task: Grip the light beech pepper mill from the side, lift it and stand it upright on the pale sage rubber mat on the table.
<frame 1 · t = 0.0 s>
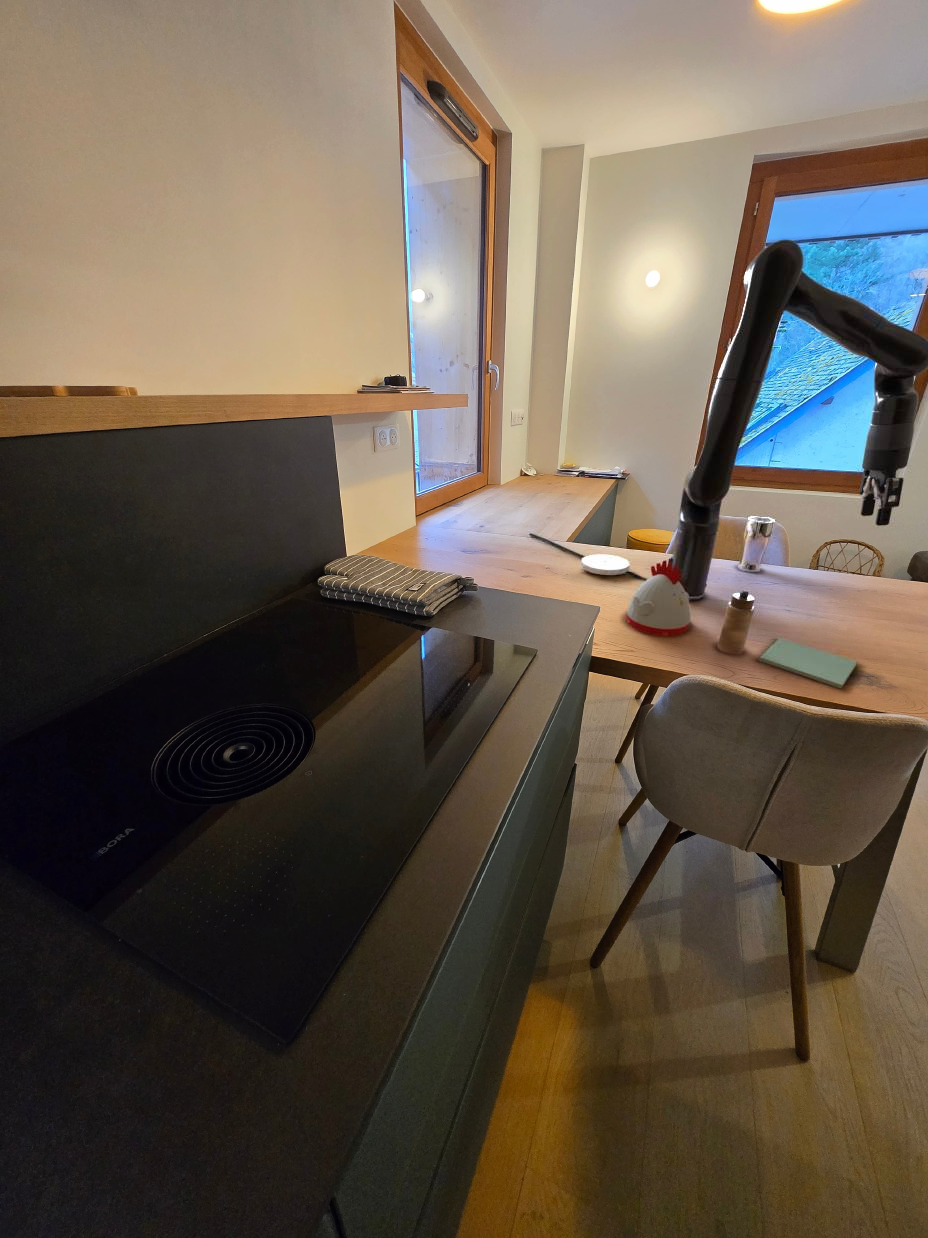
hand: (873, 520, 111), 22 cm above the table, tool pointing down, fingers open, 8 cm apart
beer glass: (748, 569, 147), on the table
pepper mill: (730, 648, 104), on the table
kitchen timer: (656, 622, 116), on the table
rubber mat: (807, 662, 99), on the table
plastic lid: (604, 570, 148), on the table
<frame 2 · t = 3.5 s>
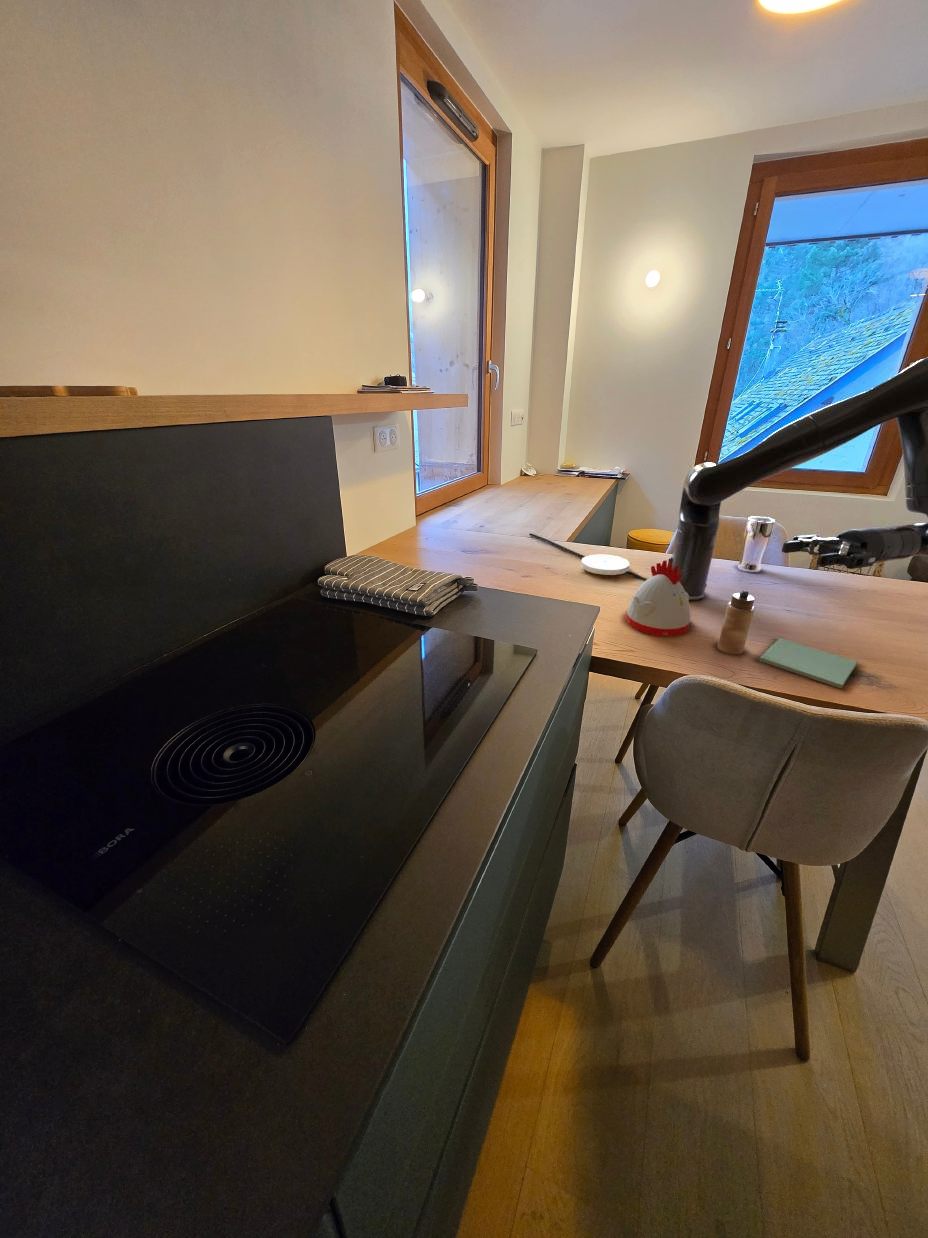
hand: (801, 553, 98), 20 cm above the table, tool horizontal, fingers open, 8 cm apart
nothing on the table moved.
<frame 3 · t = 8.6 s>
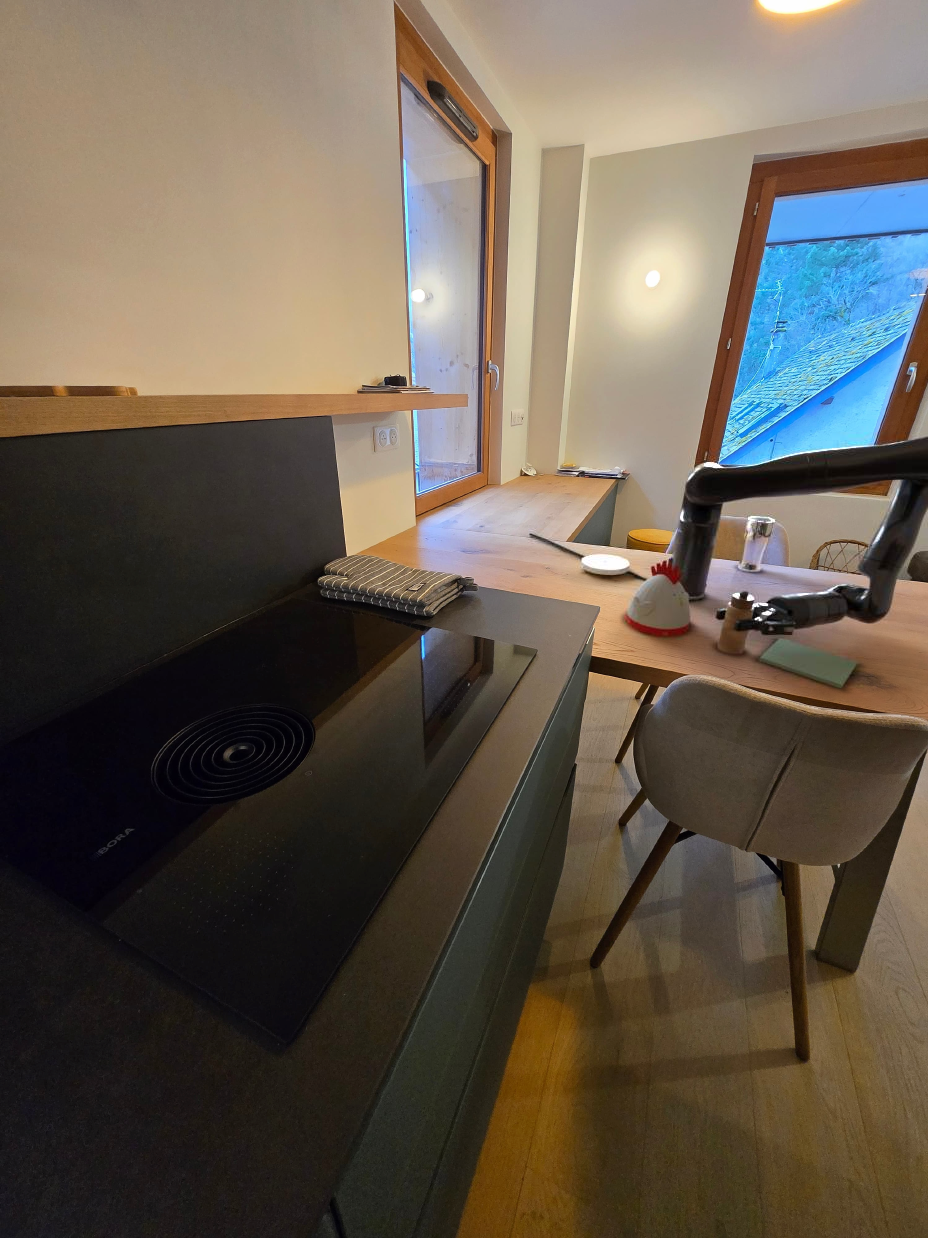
hand: (726, 620, 101), 7 cm above the table, tool horizontal, fingers closed on pepper mill, 5 cm apart
pepper mill: (730, 648, 104), on the table, touching gripper
everything else where it was.
when the fingers open (8 cm above the table, at t = 16.2 s): pepper mill stays where it is, resting on rubber mat.
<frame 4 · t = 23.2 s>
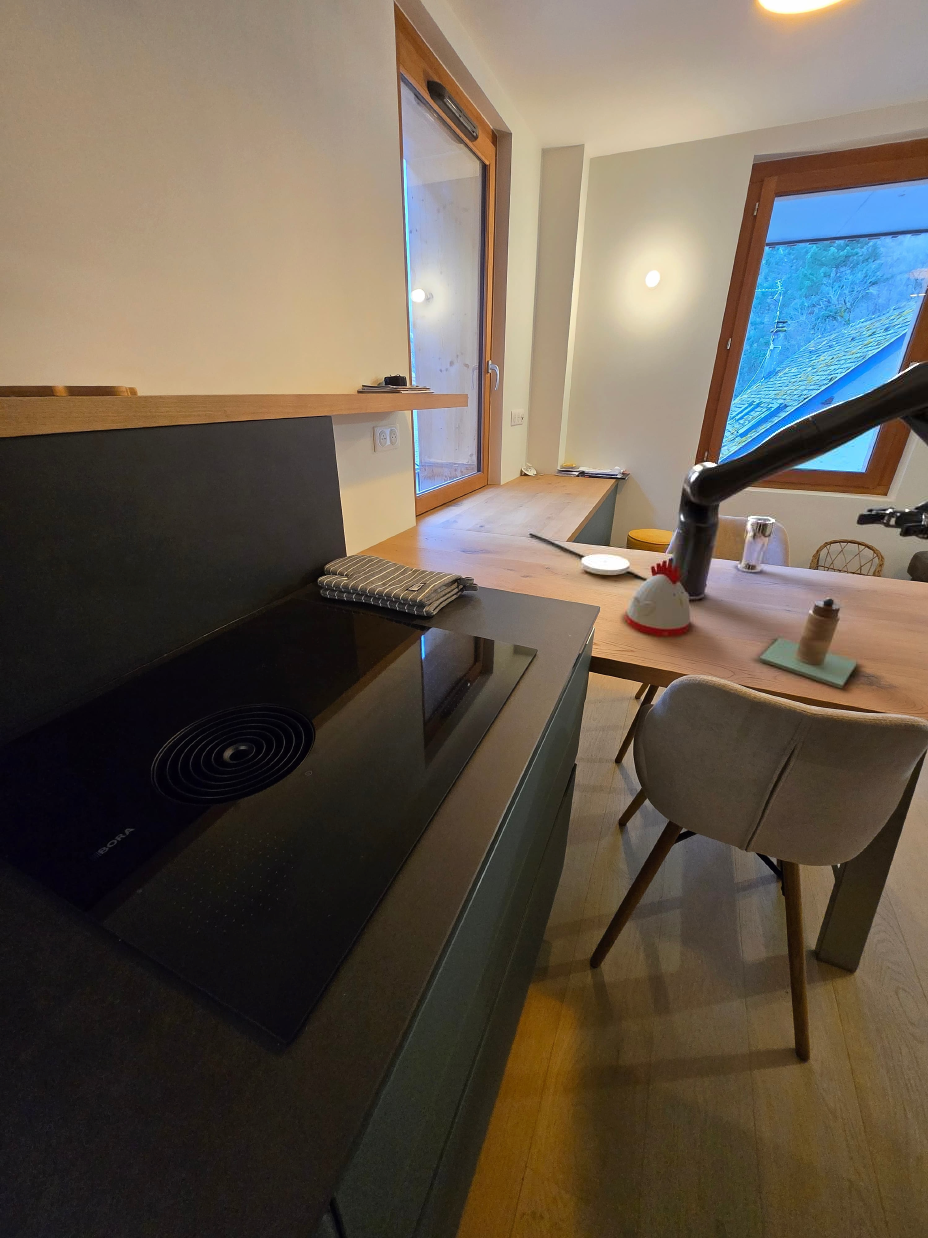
hand: (880, 524, 94), 26 cm above the table, tool horizontal, fingers open, 8 cm apart
pepper mill: (809, 659, 98), point 1 cm above the table, touching rubber mat
everything else where it was.
at the end: pepper mill inside the target area on the rubber mat (0.1 cm from its centre), point 0.8 cm above the rubber mat's base; pepper mill tilted 0°; the gripper is holding nothing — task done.
